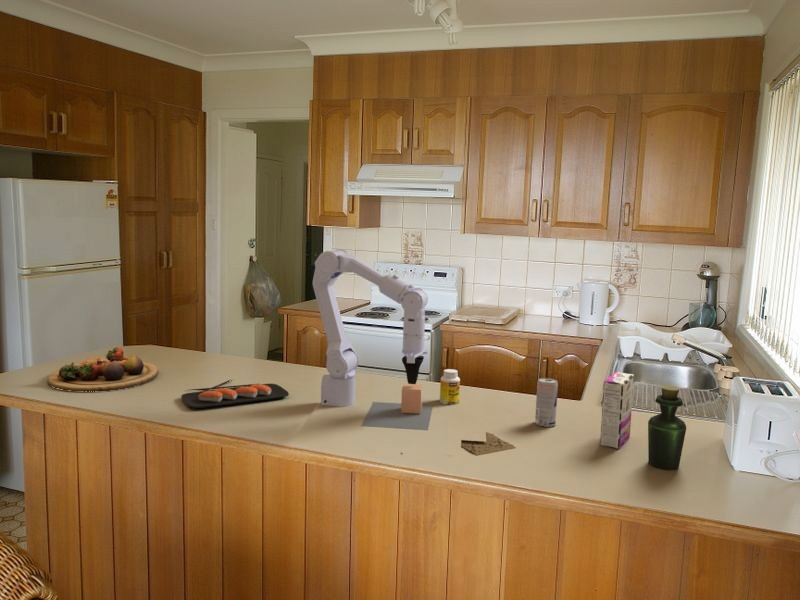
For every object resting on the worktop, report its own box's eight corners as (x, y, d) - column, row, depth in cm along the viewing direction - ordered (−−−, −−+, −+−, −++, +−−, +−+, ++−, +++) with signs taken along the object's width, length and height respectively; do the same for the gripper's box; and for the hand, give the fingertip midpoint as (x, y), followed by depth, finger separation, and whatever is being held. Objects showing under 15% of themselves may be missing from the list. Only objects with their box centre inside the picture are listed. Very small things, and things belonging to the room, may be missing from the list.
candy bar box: (610, 432, 172) (615, 371, 169) (630, 436, 169) (635, 374, 167) (598, 445, 162) (603, 380, 160) (619, 449, 160) (624, 383, 157)
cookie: (476, 457, 153) (476, 453, 153) (447, 440, 164) (447, 437, 164) (517, 449, 159) (517, 446, 159) (487, 434, 170) (487, 430, 169)
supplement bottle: (447, 409, 188) (448, 374, 187) (435, 404, 193) (437, 369, 191) (462, 406, 191) (464, 371, 190) (451, 401, 196) (452, 367, 194)
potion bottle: (649, 455, 157) (656, 381, 154) (686, 463, 152) (693, 387, 150) (640, 465, 150) (646, 388, 148) (678, 474, 146) (685, 395, 143)
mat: (360, 429, 169) (361, 425, 169) (373, 405, 190) (373, 401, 190) (427, 433, 167) (427, 430, 167) (432, 408, 188) (432, 405, 188)
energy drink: (556, 422, 179) (559, 379, 177) (554, 428, 174) (557, 384, 172) (536, 419, 181) (538, 376, 179) (533, 425, 176) (536, 381, 174)
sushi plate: (190, 414, 179) (190, 400, 178) (167, 387, 205) (167, 374, 204) (292, 400, 194) (292, 388, 193) (259, 376, 219) (258, 365, 219)
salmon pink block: (401, 412, 180) (401, 388, 179) (403, 406, 185) (403, 383, 184) (420, 413, 179) (421, 389, 178) (421, 407, 184) (422, 384, 183)
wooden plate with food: (88, 364, 228) (87, 340, 227) (176, 369, 224) (175, 345, 222) (24, 391, 197) (21, 364, 196) (124, 397, 192) (122, 370, 191)
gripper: (426, 340, 171) (425, 391, 173) (430, 329, 186) (428, 377, 188) (399, 338, 172) (398, 389, 174) (405, 328, 186) (403, 375, 188)
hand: (412, 383), depth 181 cm, fingers closed
